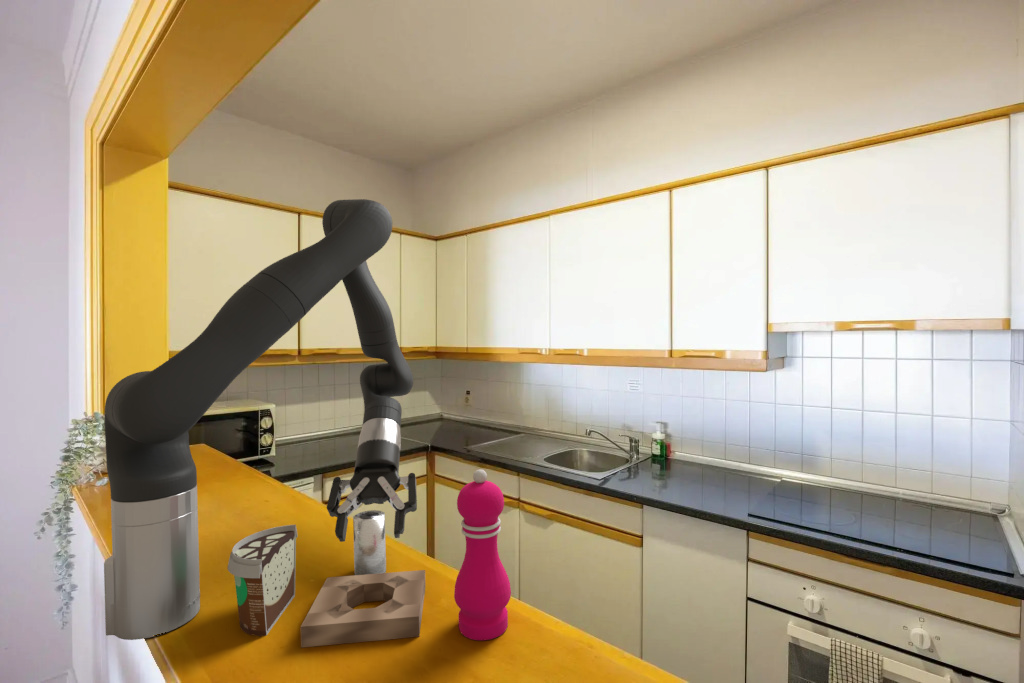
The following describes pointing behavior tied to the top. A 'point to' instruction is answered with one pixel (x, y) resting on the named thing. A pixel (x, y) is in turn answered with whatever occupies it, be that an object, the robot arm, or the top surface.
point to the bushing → (369, 542)
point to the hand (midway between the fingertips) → (369, 537)
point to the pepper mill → (481, 562)
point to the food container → (264, 577)
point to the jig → (343, 624)
